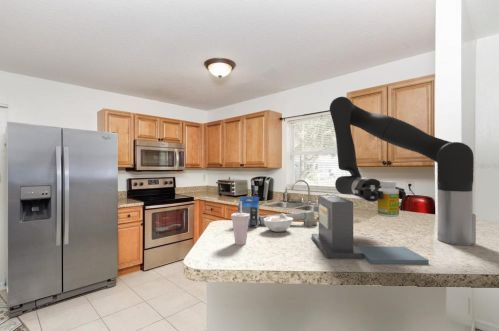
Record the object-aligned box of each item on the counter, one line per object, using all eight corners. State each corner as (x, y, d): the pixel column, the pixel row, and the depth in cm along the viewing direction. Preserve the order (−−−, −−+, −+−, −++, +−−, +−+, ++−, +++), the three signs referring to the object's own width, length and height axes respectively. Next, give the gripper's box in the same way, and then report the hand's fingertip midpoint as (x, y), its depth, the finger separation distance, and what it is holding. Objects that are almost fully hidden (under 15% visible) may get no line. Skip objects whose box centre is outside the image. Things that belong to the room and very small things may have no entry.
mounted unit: (339, 237, 91) (339, 194, 91) (363, 258, 71) (363, 203, 71) (311, 237, 92) (311, 194, 91) (327, 258, 72) (326, 203, 71)
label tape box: (237, 226, 109) (236, 197, 109) (239, 224, 113) (239, 196, 113) (257, 227, 107) (257, 198, 107) (259, 225, 111) (259, 196, 111)
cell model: (259, 229, 104) (259, 212, 104) (284, 226, 109) (284, 210, 109) (270, 235, 95) (270, 217, 95) (298, 232, 99) (298, 214, 99)
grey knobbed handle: (258, 215, 115) (314, 207, 114) (260, 229, 115) (316, 222, 114) (258, 217, 110) (316, 209, 109) (260, 232, 110) (319, 224, 109)
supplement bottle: (390, 218, 70) (391, 182, 69) (373, 214, 74) (373, 181, 74) (403, 216, 72) (403, 181, 72) (385, 212, 77) (385, 180, 77)
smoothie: (253, 241, 88) (252, 200, 88) (245, 247, 82) (244, 203, 82) (236, 239, 90) (236, 199, 90) (227, 244, 85) (227, 202, 85)
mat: (404, 249, 78) (404, 246, 78) (428, 263, 67) (428, 260, 67) (354, 249, 79) (354, 246, 79) (370, 263, 68) (370, 259, 68)
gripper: (345, 177, 88) (366, 181, 71) (388, 177, 87) (419, 181, 70) (345, 199, 88) (366, 209, 71) (388, 199, 87) (419, 209, 70)
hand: (392, 195), depth 71 cm, fingers closed on supplement bottle, 5 cm apart
